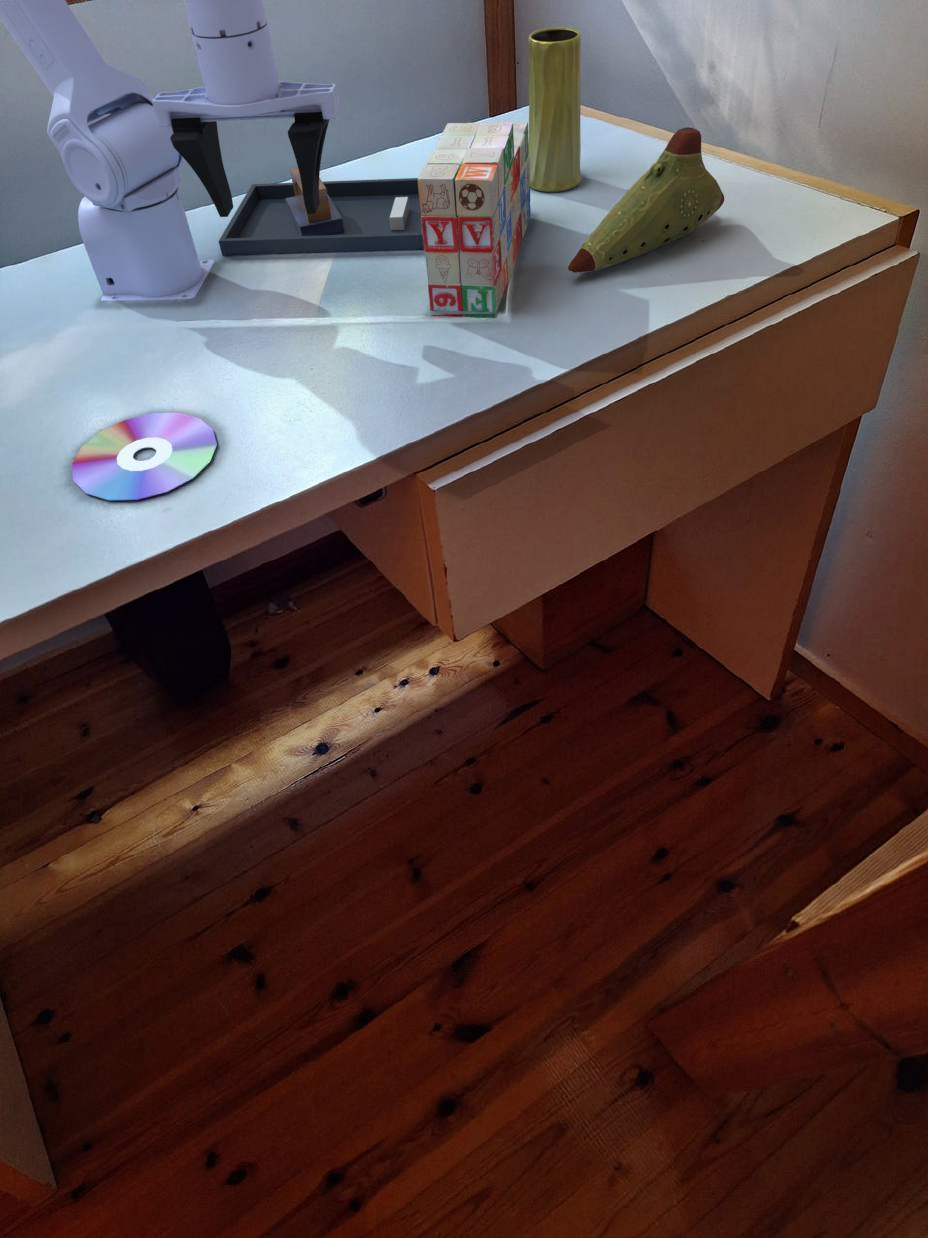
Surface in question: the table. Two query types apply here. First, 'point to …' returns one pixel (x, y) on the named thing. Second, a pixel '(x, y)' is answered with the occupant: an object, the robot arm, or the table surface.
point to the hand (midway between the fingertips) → (269, 210)
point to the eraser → (322, 220)
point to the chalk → (399, 213)
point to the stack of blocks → (474, 214)
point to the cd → (121, 477)
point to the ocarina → (655, 207)
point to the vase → (554, 109)
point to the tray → (365, 230)
